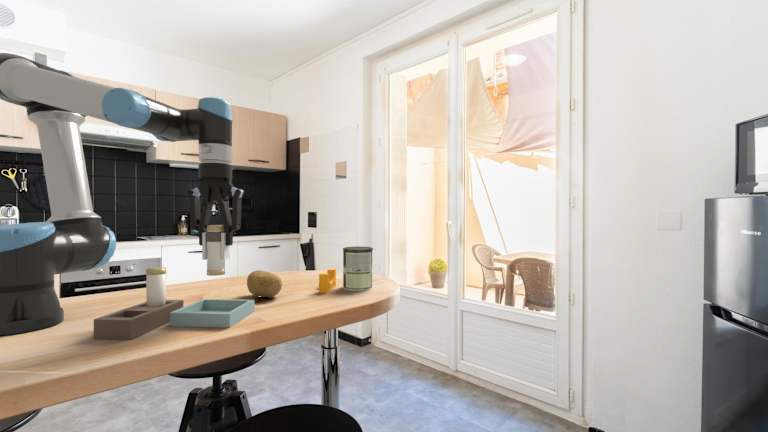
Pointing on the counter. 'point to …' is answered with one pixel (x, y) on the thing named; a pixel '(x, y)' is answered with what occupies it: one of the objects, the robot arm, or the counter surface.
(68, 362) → the counter surface
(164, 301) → the fuse
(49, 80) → the robot arm
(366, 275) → the coffee can
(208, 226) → the fuse
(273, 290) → the potato
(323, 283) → the pipe clamp
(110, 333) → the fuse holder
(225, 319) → the parts tray
